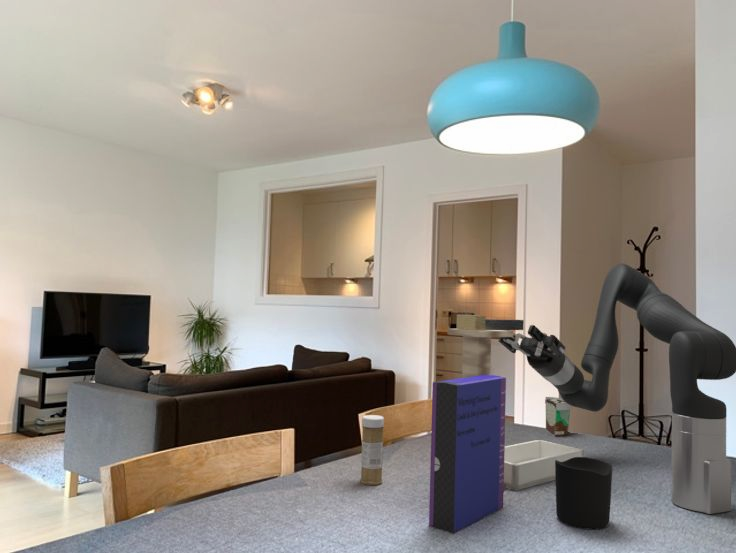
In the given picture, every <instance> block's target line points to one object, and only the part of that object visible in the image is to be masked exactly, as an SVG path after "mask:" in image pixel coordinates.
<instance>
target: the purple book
mask: <svg viewBox="0 0 736 553" xmlns="http://www.w3.org/2000/svg"><path fill="white" fill-rule="evenodd" d="M506 391H507V377H504V376H500V375H494V374H492V375H491V374H490V375H480V376H473V377H466V378H462V377H460V378H454V379H453V378H452V379H447V380H440V381H433V382H432V395H431V396H432V398H431V399H432V400H431V433H430V436H431V437H430V438H431V439H430V468H429V469H430V474H429V475H430V476H429V477H430V478H429V508H428V510H429V512H428V513H429V514H428V527H431V528H434V529H437V530H441V531H443V532H447V533H449V534H450V533H451V534H453V535H454V534H456V533H458V532H460V531H462V530H465V529H466V528H468V527H469V526H471V525H473V524H475V523H477V522H479V521H481V520H483V519H485V518H487V517H489V516H491V515H492V514H494V513H496V512H498V511H500V510H502V509H504V497H505V496H504V494H505V493H504V491H505V490H504V449H505V446H506V445H505V443H506V442H505V438H506V400H507V398H506V395H507V394H506V393H507V392H506Z"/></svg>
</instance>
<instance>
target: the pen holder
mask: <svg viewBox="0 0 736 553" xmlns="http://www.w3.org/2000/svg"><path fill="white" fill-rule="evenodd" d="M555 477H556V480H555V502H556V503H555V510H556V511H555V512H556V517H557V519H558V520H559V521H560V522H561V523H562V524H565V525H566V526H567V525H568V526H569V527H573V528H577V529H582V530H602V529H605V528H607V526H609V524H610V519H611V518H610V517H611V516H610V515H611V500H612V484H613V483H612V482H613V481H612V480H613V465H612V464H611V463H609V462H607V461H604V460H600V459H597V458H592V457H587V456H584V457H574V458H571V459H568V460H566V461H563V462H559V461H558V460H555Z"/></svg>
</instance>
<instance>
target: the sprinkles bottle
mask: <svg viewBox="0 0 736 553" xmlns="http://www.w3.org/2000/svg"><path fill="white" fill-rule="evenodd" d="M384 426H385V418H384V416H382V415H377V414H376V415H375V414H369V415H363V416H362V417H361V427H362V433H361V434H362V440H361V460H360V462H361V464H360V465H361V467H360V468H361V472H360V473H361V475H360V482H361V483H362V484H364V485H367V486H376V485H381V484H382V482H383V463H384V462H383V458H384V457H383V455H384V451H383V448H384V446H383V445H384V444H383V443H384Z"/></svg>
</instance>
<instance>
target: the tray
mask: <svg viewBox="0 0 736 553" xmlns="http://www.w3.org/2000/svg"><path fill="white" fill-rule="evenodd" d="M574 457H585V449H582V448H577V447H572V446H569V445H565V444H560V443H555V442H550V441H546V440H542V439H536V440H530V441H525V442H521V443H520V442H519V443H515V444H510V445H505V449H504V484H506V488H505V489H508V490H512V491H514V492H515V491H516V492H517V491H520V490H523V489H526V488H531V487H535V486H538V485H542V484H545V483H549V482H553V481H556V477H555V460H558V461H559V462H563V461H566V460H568V459H571V458H574Z"/></svg>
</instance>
